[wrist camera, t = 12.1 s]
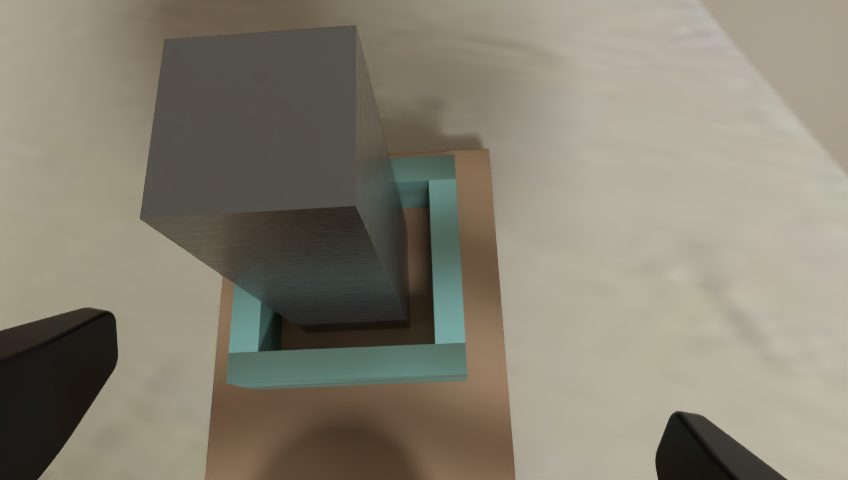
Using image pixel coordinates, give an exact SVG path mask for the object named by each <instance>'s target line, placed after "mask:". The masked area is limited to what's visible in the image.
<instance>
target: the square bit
mask: <svg viewBox="0 0 848 480" xmlns="http://www.w3.org/2000/svg"><path fill="white" fill-rule="evenodd" d="M140 219H141V220H142V221H144V222H145V223H147V224H148V225H150V226H151V227H153V228H154V229H156V230H157V231H158V232H160V233H161V234H163V235H164V236H166V237H167V238H169V239H170V240H172V241H173V242H175V243H176V244H177V245H179V246H180V247H182V248H183V249H185V250H186V251H188V252H189V253H191V254H192V255H194V256H195V257H196V258H198V259H199V260H201V261H202V262H204V263H205V264H207V265H208V266H210V267H211V268H212V269H214V270H215V271H217V272H218V273H220V274H221V275H223V276H224V277H226V278H227V279H229V280H230V281H231V282H233V283H234V284H236V285H237V286H239V287H240V288H242V289H243V290H245V291H246V292H248V293H249V294H250V295H252V296H253V297H255V298H256V299H258V300H259V301H261V302H262V303H264V304H265V305H267V306H268V307H269V308H271V309H272V310H274V311H275V312H277V313H278V314H280V315H281V316H283V317H284V318H285V319H287V320H288V321H290V322H291V323H293V324H294V325H296V326H297V327H299V328H300V329H302V330H303V331H304V332H306V333H318V332H338V331H358V330H378V329H398V328H410V299H409V267H408V234H407V226H406V222H405V218H404V214H403V210H402V206H401V202H400V198H399V194H398V191H397V187H396V183H395V179H394V175H393V171H392V167H391V163H390V159H389V155H388V151H387V147H386V143H385V139H384V135H383V131H382V127H381V123H380V119H379V115H378V111H377V107H376V103H375V99H374V95H373V91H372V87H371V83H370V79H369V75H368V71H367V67H366V63H365V59H364V55H363V51H362V47H361V43H360V39H359V35H358V31H357V27H356V26H342V27H329V28H315V29H301V30H288V31H274V32H261V33H247V34H233V35H220V36H206V37H193V38H179V39H166V40H165V41H164V49H163V56H162V63H161V70H160V77H159V85H158V92H157V99H156V106H155V113H154V120H153V128H152V135H151V142H150V149H149V156H148V164H147V171H146V178H145V185H144V192H143V200H142V207H141V214H140Z"/></svg>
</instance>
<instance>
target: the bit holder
mask: <svg viewBox="0 0 848 480" xmlns="http://www.w3.org/2000/svg"><path fill="white" fill-rule="evenodd" d="M389 159H390V163H391V167H392V171H393V175H394V179H395V183H396V187H397V191H398V194H399V198H400V202H401V206H402V210H403V214H404V218H405V222H406V226H407V234H408V267H409V299H410V328H398V329H378V330H358V331H338V332H318V333H306V332H304V331H303V330H302V329H300V328H299V327H297V326H296V325H294V324H293V323H291V322H290V321H288V320H287V319H285V318H284V317H283V316H281V315H280V314H278V313H277V312H275V311H274V310H272V309H271V308H269V307H268V306H267V305H265V304H264V303H262V302H261V301H259V300H258V299H256V298H255V297H253V296H252V295H250V294H249V293H248V292H246V291H245V290H243V289H242V288H240V287H239V286H237V285H236V284H234V283H233V282H231V281H230V280H229V279H227V278H226V277H224V276H223V284H222V295H221V306H220V318H219V329H218V340H217V351H216V363H215V374H214V385H213V397H212V408H211V419H210V431H209V442H208V453H207V464H206V476H205V480H515V468H514V455H513V443H512V431H511V418H510V406H509V393H508V381H507V369H506V356H505V344H504V332H503V319H502V307H501V295H500V282H499V270H498V257H497V245H496V233H495V220H494V208H493V196H492V183H491V171H490V158H489V149H478V150H461V151H443V152H426V153H409V154H392V155H389Z"/></svg>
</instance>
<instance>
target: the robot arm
mask: <svg viewBox="0 0 848 480" xmlns="http://www.w3.org/2000/svg"><path fill="white" fill-rule="evenodd" d="M117 359H118V346H117V331H116V320H115V317H114V315H113V314H112V313H111V312H110V311H106V310H100V309H94V308H81V309H78V310H74V311H71V312H67V313H63V314H60V315H56V316H52V317H49V318H45V319H41V320H38V321H34V322H31V323H27V324H23V325H20V326H16V327H12V328H9V329H5V330H2V331H0V480H38V478H39V477H40V476H41V475H42V473H43V472H44V471H45V470H46V468H47V467H48V466H49V465H50V463H51V462H52V461H53V460H54V458H55V457H56V456H57V454H58V453H59V452H60V450H61V449H62V448H63V446H64V445H65V443H66V442H67V441H68V439H69V438H70V436H71V435H72V433H73V432H74V430H75V429H76V427H77V426H78V424H79V423H80V421H81V420H82V418H83V416H84V415H85V413H86V412H87V410H88V409H89V407H90V406H91V404H92V403H93V401H94V400H95V398H96V397H97V395H98V394H99V392H100V391H101V389H102V387H103V386H104V384H105V383H106V381H107V380H108V378H109V377H110V375H111V374H112V372H113V370H114V369H115V366H116V363H117ZM655 463H656V471H657V476H658V480H787V479H786V478H784V477H783V476H782V475H781V474H779V473H778V472H777V471H775V470H774V469H773V468H771V467H770V466H769V465H767V464H766V463H765V462H763V461H762V460H761V459H759V458H758V457H757V456H755V455H754V454H753V453H751V452H750V451H749V450H747V449H746V448H745V447H744V446H742V445H741V444H740V443H738V442H737V441H736V440H734V439H733V438H732V437H730V436H729V435H728V434H726V433H725V432H724V431H722V430H721V429H720V428H718V427H717V426H716V425H714V424H713V423H712V422H711V421H709V420H708V419H707V418H705V417H704V416H702V415H699V414H694V413H688V412H682V411H676V412H674V413H673V414H672V415H671V416H670V418H669V420H668V423H667V426H666V428H665V431H664V433H663V436H662V439H661V441H660V444H659V446H658V449H657V452H656V460H655Z"/></svg>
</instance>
